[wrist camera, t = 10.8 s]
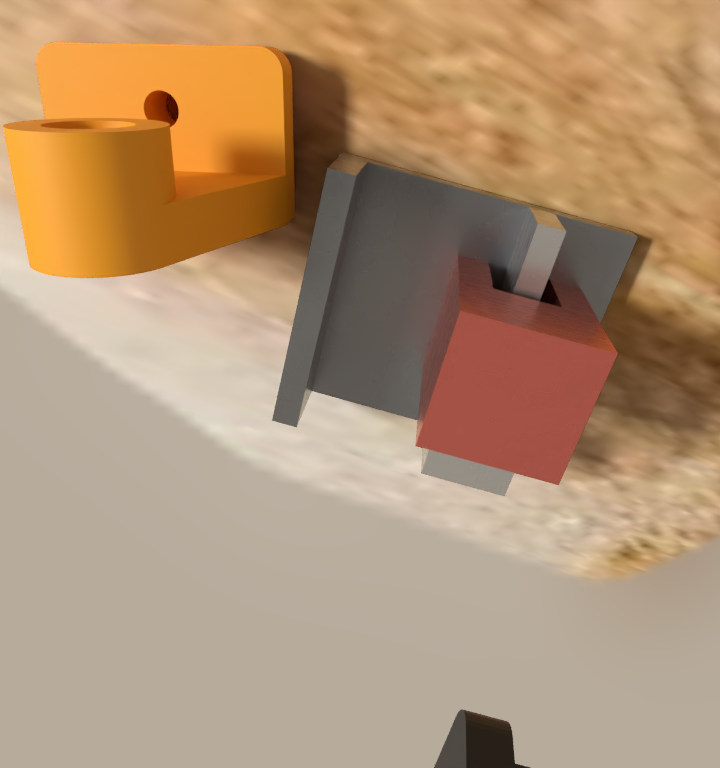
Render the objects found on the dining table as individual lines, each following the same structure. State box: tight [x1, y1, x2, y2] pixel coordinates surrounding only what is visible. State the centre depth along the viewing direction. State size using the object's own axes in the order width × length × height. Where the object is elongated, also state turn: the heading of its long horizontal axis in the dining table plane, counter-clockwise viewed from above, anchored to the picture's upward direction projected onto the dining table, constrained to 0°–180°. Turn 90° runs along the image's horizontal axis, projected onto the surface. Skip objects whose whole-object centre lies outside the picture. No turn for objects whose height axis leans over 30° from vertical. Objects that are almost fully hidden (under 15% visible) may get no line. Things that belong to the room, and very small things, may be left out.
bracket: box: [3, 42, 295, 278], centre depth 27 cm, size 11×7×12 cm, turn 89°
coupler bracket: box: [272, 152, 638, 496], centre depth 32 cm, size 12×14×6 cm
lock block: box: [416, 255, 618, 485], centre depth 30 cm, size 6×6×8 cm
